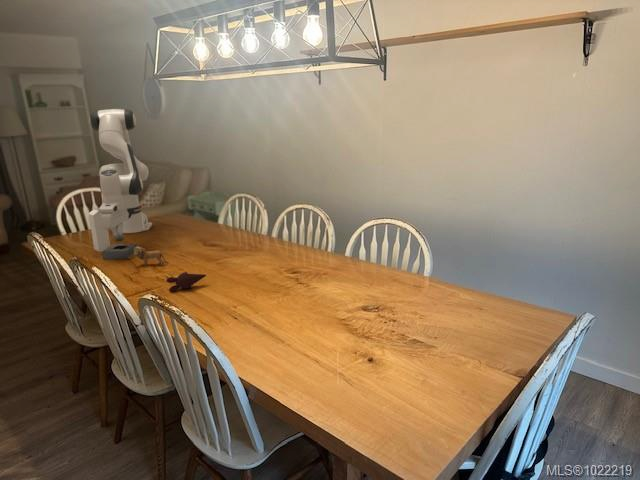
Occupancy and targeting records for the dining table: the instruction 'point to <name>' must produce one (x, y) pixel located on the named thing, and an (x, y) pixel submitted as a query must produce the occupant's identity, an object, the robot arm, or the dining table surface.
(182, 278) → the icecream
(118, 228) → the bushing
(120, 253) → the jig
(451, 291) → the dining table surface
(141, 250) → the lion figurine
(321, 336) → the dining table surface
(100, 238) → the milk
